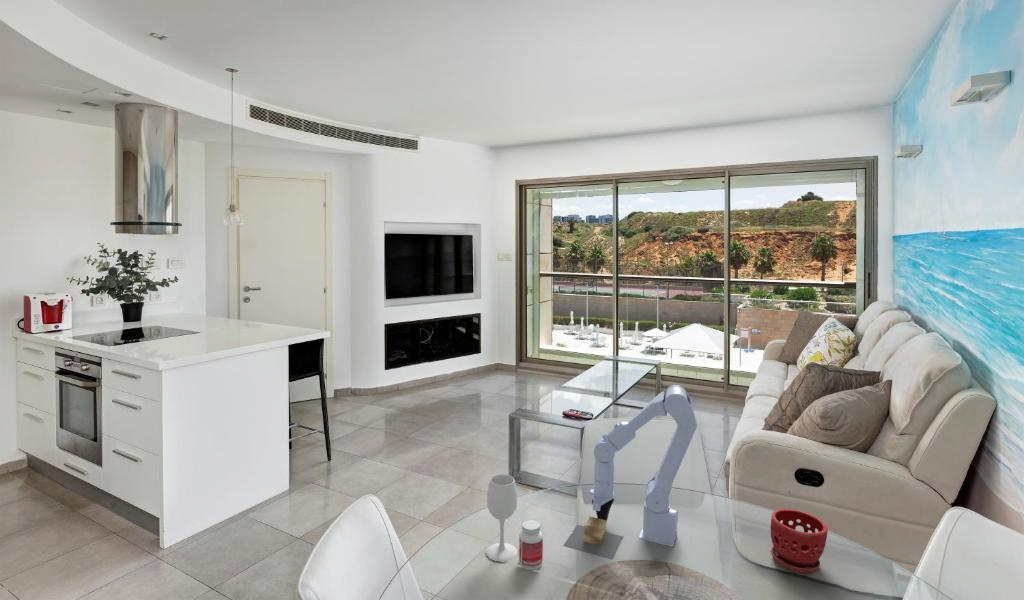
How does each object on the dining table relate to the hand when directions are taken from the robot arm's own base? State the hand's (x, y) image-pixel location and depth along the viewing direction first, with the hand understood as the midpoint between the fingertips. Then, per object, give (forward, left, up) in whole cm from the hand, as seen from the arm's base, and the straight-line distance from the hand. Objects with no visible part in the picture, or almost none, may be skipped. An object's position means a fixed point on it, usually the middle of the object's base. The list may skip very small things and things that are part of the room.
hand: (602, 522), depth 159 cm
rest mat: (0, +8, -2) cm, 9 cm away
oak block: (0, +7, -1) cm, 7 cm away
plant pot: (-51, -7, -2) cm, 51 cm away
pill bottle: (+12, +25, -2) cm, 28 cm away
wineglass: (+21, +24, -2) cm, 32 cm away
